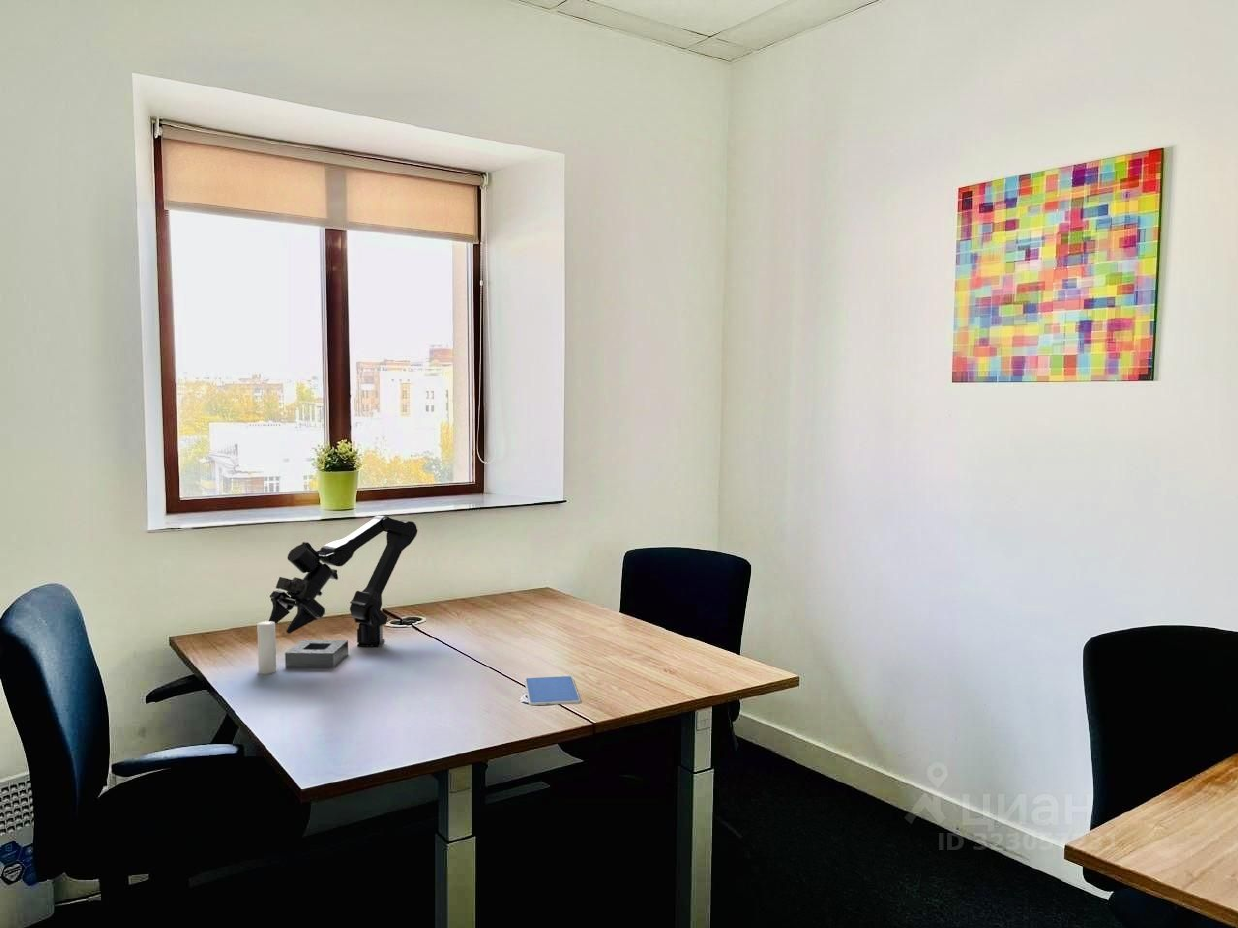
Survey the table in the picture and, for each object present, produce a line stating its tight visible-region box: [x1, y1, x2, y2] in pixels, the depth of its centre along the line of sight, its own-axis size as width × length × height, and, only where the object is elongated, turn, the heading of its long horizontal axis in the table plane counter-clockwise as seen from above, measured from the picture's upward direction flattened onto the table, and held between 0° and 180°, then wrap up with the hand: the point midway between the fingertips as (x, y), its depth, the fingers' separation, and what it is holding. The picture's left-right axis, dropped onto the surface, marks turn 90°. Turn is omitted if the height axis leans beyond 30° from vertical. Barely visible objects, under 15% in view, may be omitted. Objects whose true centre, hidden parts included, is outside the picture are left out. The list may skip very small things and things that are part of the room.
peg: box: [256, 620, 277, 675], centre depth 244 cm, size 4×4×13 cm
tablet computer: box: [524, 675, 582, 706], centre depth 230 cm, size 19×13×1 cm, turn 9°
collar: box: [284, 639, 349, 669], centre depth 254 cm, size 13×13×4 cm
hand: (277, 629), depth 246 cm, fingers open, 9 cm apart
